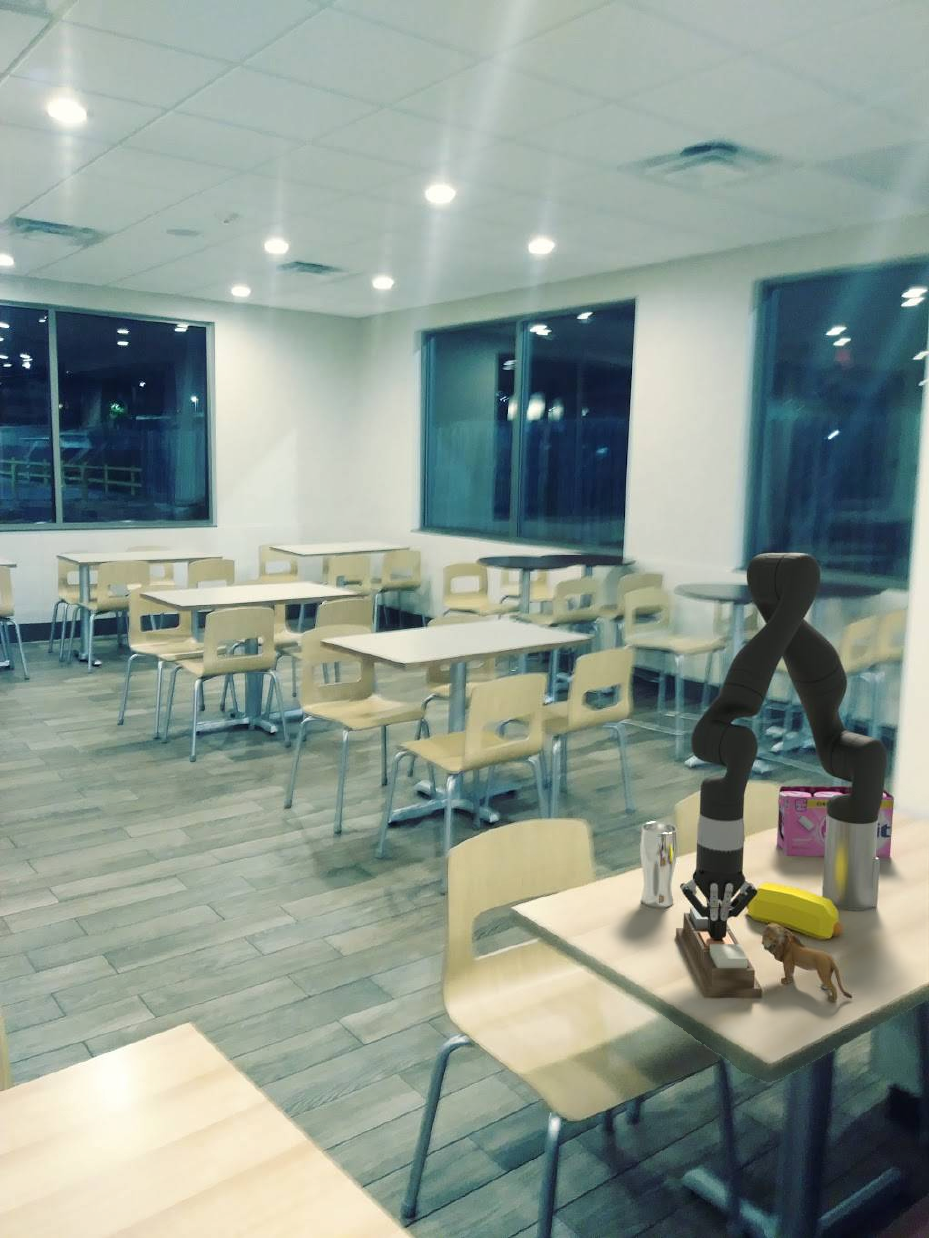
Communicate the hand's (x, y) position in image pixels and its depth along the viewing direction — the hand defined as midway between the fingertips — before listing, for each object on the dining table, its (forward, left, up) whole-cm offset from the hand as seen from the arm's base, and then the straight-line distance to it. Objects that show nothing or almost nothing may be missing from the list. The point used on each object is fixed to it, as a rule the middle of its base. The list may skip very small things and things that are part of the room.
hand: (716, 938), depth 163 cm
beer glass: (+5, -25, -5) cm, 26 cm away
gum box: (-39, -52, -5) cm, 65 cm away
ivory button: (0, +7, -1) cm, 7 cm away
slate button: (0, -7, -2) cm, 7 cm away
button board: (0, 0, -5) cm, 5 cm away
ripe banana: (-18, -15, -5) cm, 24 cm away
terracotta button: (0, 0, -3) cm, 3 cm away
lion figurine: (-12, +7, -5) cm, 15 cm away
